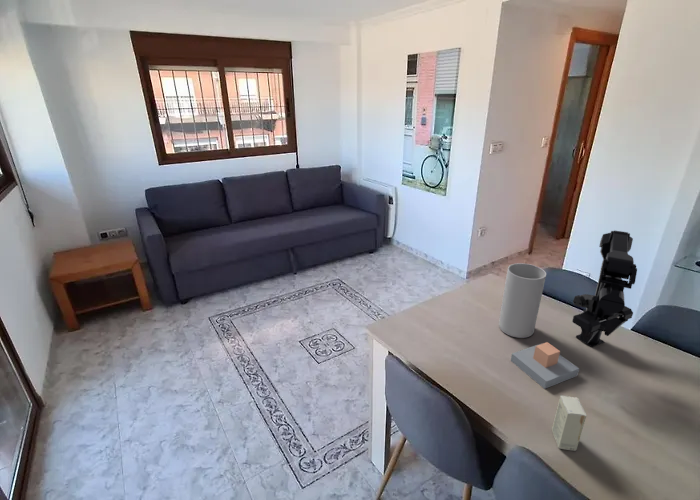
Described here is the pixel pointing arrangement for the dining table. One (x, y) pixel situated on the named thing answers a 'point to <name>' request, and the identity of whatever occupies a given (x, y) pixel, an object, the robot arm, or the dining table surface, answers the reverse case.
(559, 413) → the skincare box
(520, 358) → the slate base
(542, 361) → the terracotta cube
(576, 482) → the dining table surface
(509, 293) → the cylinder vase
